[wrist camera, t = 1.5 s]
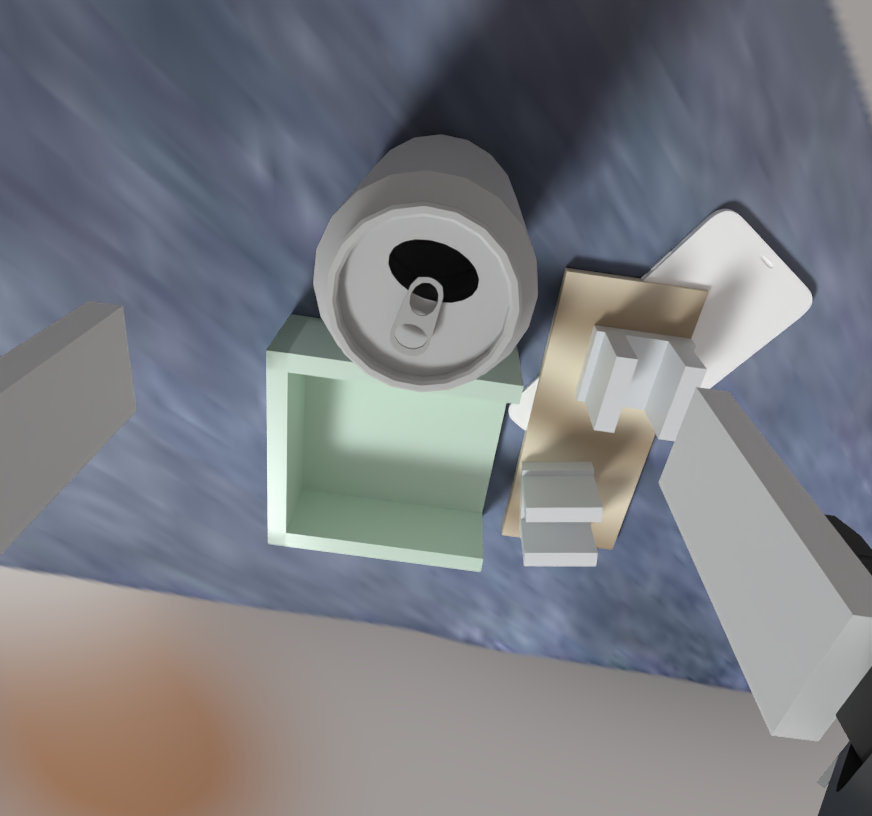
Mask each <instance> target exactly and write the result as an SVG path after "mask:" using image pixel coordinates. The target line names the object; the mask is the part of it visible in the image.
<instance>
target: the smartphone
mask: <svg viewBox="0 0 872 816" xmlns="http://www.w3.org/2000/svg"><path fill="white" fill-rule="evenodd" d="M640 279H642V280H643V281H648V282H655V283H662V284H669V285H675V286H682V287H689V288H696V289H703V290H707V291H708V295H707V298H706V300H705V303H704V306H703V308H702V311H701V314H700V316H699V319H698V322H697V324H696V327H695V330H694V332H693V335H692V338H691V339H692V340H693V342H694V343H695V344H696V347H695V350H694V352H695V354H696V355H697V356H698V358H699V359H700V360H701V362H702V363H703V364H704V366H705V367H706V368H707V371H706V374H705V376H704V379H703V381H702V384H701V386H700V388H706V389H710V388H711V387H712V386H714V385H715V384H716V383H717V382H719V381H720V380H721V379H723V378H724V377H725V376H726V375H728V374H729V373H730V372H731V371H733V370H734V369H735V368H737V367H738V366H739V365H740V364H742V363H743V362H744V361H745V360H747V359H748V358H749V357H751V356H752V355H753V354H754V353H756V352H757V351H758V350H759V349H761V348H762V347H763V346H765V345H766V344H767V343H768V342H770V341H771V340H772V339H773V338H775V337H776V336H777V335H778V334H780V333H781V332H782V331H784V330H785V329H786V328H787V327H789V326H790V325H791V324H792V323H794V322H795V321H796V320H798V319H799V318H800V317H801V316H802V315H804V314H805V313H806V312H807V310H808V309H809V308H810V306H811V304H812V294H811V292H810V290H809V289H808V288H807V287H806V286H805V284H804V283H803V282H802V281H801V280H800V279H799V278H798V277H797V276H796V275H795V274H794V273H793V272H792V270H791V269H790V268H789V267H788V266H787V265H786V264H785V263H784V262H783V261H782V260H781V259H780V258H779V256H778V255H777V254H776V253H775V252H774V251H773V250H772V249H771V248H770V247H769V246H768V245H767V243H766V242H765V241H764V240H763V239H762V238H761V237H760V236H759V235H758V234H757V233H756V232H755V231H754V229H753V228H752V227H751V226H750V225H749V224H748V223H747V222H746V221H745V220H744V219H743V218H742V217H741V216H740V215H739V214H737V213H736V212H734V211H732V210H730V209H720V210H717V211H715V212H713V213H712V214H710V215H709V216H708V217H707V218H706V219H704V220H703V221H702V222H701V223H700V224H699V225H698V226H697V227H696V228H695V229H694V230H693V231H692V232H691V233H689V234H688V235H687V236H686V237H685V238H684V239H683V240H682V241H681V242H680V243H679V244H678V245H677V246H676V247H675V248H673V249H672V250H671V251H669V252H668V253H667V254H666V255H665V256H664V257H663V258H662V259H661V260H659V261H658V262H657V263H656V264H655V265H654V266H653V267H652V268H651V270H650V271H649V272H648V273H647V274H644V275H643V276H642V277H641V278H640ZM538 381H539V375H538V376H537V378H535V379H534V380H533V381H532V382H531V383H530V384H529V385H527V386H526V387H525V388H524V389H523V391H522V395H521V400H520V404H511V403H510V404H509V407H508V412H509V416H510V417H511V419H512V420H513V421H514V422H515V423H516V424H518V425H519V426H520V427H521V428H523V429H524V430H525V431H526V429H527V425H528V421H529V417H530V413H531V409H532V405H533V401H534V397H535V393H536V389H537V385H538Z"/></svg>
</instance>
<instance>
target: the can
mask: <svg viewBox="0 0 872 816" xmlns="http://www.w3.org/2000/svg"><path fill="white" fill-rule="evenodd" d="M313 285H314V290H315V294H316V298H317V303H318V307H319V311H320V316H321V318H322V320H323V321H324V323H325V325H326V327H327V328H328V330H329V332H330V333H331V335H332V337H333V338H334V340H335V342H336V344H337V345H338V346H339V347H340V348H341V349H342V351H343V353H344V354H345V355H346V356H347V357H348V358H349V359H350V360H351V361H352V362H353V363H355V364H356V365H357V366H358V367H359V368H360V369H361V370H362V371H363V372H364V373H365V374H367V375H369V376H371V377H373V378H375V379H377V380H379V381H381V382H383V383H385V384H387V385H389V386H391V387H395V388H400V389H405V390H410V391H415V392H431V391H443V390H450V389H453V388H455V387H458V386H460V385H463V384H466V383H468V382H471V381H473V380H476V379H477V378H478V377H480V376H481V375H484V374H485V373H487V372H488V371H489V370H491V369H492V368H493V367H494V366H496V365H497V364H498V363H500V362H501V361H502V360H503V359H505V358H506V357H507V356H509V355H510V354H511V352H512V351H513V349H514V348H515V346H516V345H517V344H518V342H519V341H520V339H521V338H522V336H523V335H524V333H525V332H526V330H527V329H528V328H529V324H530V321H531V318H532V314H533V311H534V307H535V304H536V301H537V297H538V280H537V260H536V257H535V254H534V251H533V247H532V244H531V241H530V238H529V235H528V232H527V229H526V226H525V223H524V220H523V216H522V213H521V210H520V207H519V204H518V201H517V198H516V196H515V193H514V190H513V188H512V185H511V183H510V180H509V177H508V175H507V174H506V172H505V171H504V170H503V169H502V168H501V166H500V165H499V164H498V163H497V162H496V160H495V159H494V158H493V157H492V155H491V154H489V153H488V152H486V151H484V150H483V149H481V148H480V147H478V146H476V145H475V144H473V143H472V142H470V141H468V140H465V139H461V138H456V137H452V136H447V135H442V134H439V135H431V136H423V137H415V138H413V139H411V140H409V141H407V142H405V143H403V144H401V145H399V146H397V147H395V148H393V149H391V150H390V151H389V152H388V153H387V154H386V155H385V156H384V157H383V158H382V159H381V160H380V161H379V162H378V163H377V164H376V165H375V166H374V167H373V168H372V169H371V171H370V172H369V173H368V174H367V175H366V177H365V178H364V179H363V180H362V181H361V183H360V184H359V185H358V186H357V187H356V189H355V190H354V191H353V192H352V193H351V194H350V196H349V197H348V198H347V199H346V200H345V202H344V203H343V204H342V205H341V206H340V208H339V209H338V210H337V211H336V212H335V214H334V215H333V216H332V217H331V219H330V221H329V223H328V226H327V228H326V230H325V232H324V234H323V236H322V239H321V241H320V243H319V245H318V247H317V250H316V260H315V270H314V280H313Z"/></svg>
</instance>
